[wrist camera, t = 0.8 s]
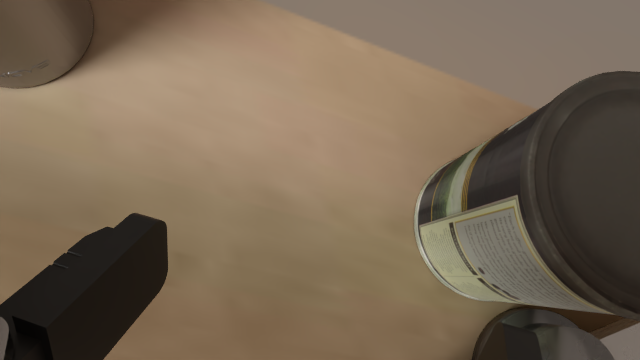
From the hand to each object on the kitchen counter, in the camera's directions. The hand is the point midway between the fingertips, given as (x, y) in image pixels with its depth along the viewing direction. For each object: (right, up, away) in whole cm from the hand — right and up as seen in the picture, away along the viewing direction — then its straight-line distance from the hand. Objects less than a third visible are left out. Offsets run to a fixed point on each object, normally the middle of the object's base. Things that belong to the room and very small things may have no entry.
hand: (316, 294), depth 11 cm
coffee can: (+12, -1, +21) cm, 24 cm away
